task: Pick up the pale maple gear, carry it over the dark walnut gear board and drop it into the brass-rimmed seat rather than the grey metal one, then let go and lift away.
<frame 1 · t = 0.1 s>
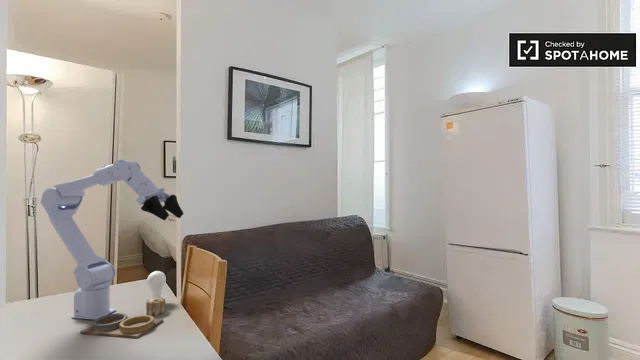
hand: (174, 216, 101), 32 cm above the table, tool tilted 50°, fingers open, 7 cm apart
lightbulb: (156, 302, 116), on the table
gear: (155, 312, 107), on the table
gear board: (123, 327, 96), on the table
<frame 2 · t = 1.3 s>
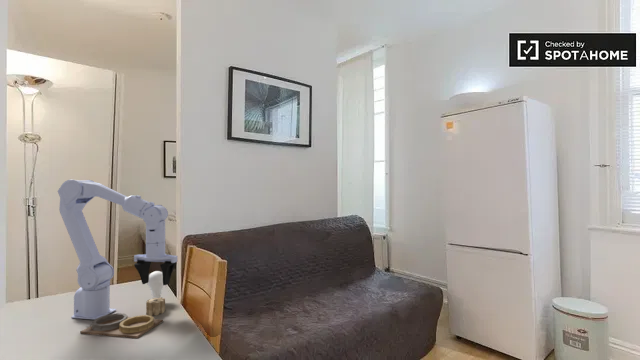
hand: (155, 283, 107), 9 cm above the table, tool pointing down, fingers open, 7 cm apart
nothing on the table moved.
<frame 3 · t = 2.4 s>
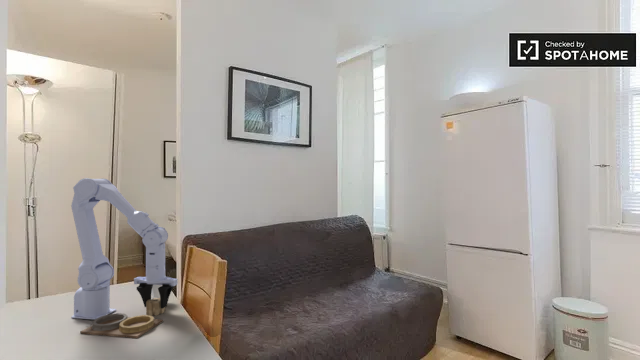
hand: (155, 306, 107), 2 cm above the table, tool pointing down, fingers closed on gear, 5 cm apart
gear: (155, 312, 107), on the table, touching gripper
everything else where it was.
when the fingers open (4 cm above the table, at t = 7.7 s): gear drops 1 cm, resting on gear board.
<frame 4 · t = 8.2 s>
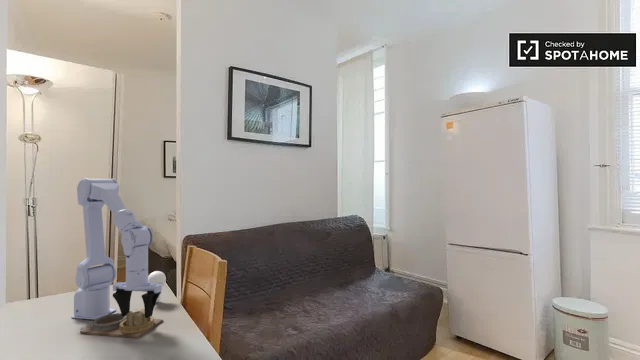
hand: (137, 315, 95), 4 cm above the table, tool pointing down, fingers open, 7 cm apart
gear: (137, 326, 95), point 1 cm above the table, touching gear board
everything else where it was.
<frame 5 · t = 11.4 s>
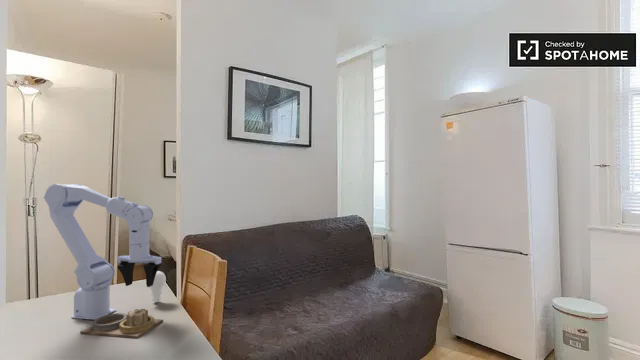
hand: (139, 285, 105), 9 cm above the table, tool pointing down, fingers open, 7 cm apart
nothing on the table moved.
at the end: gear 0.1 cm from the target spot on the gear board, point 0.6 cm above the gear board's base; gear tilted 0°; the gripper is holding nothing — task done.
